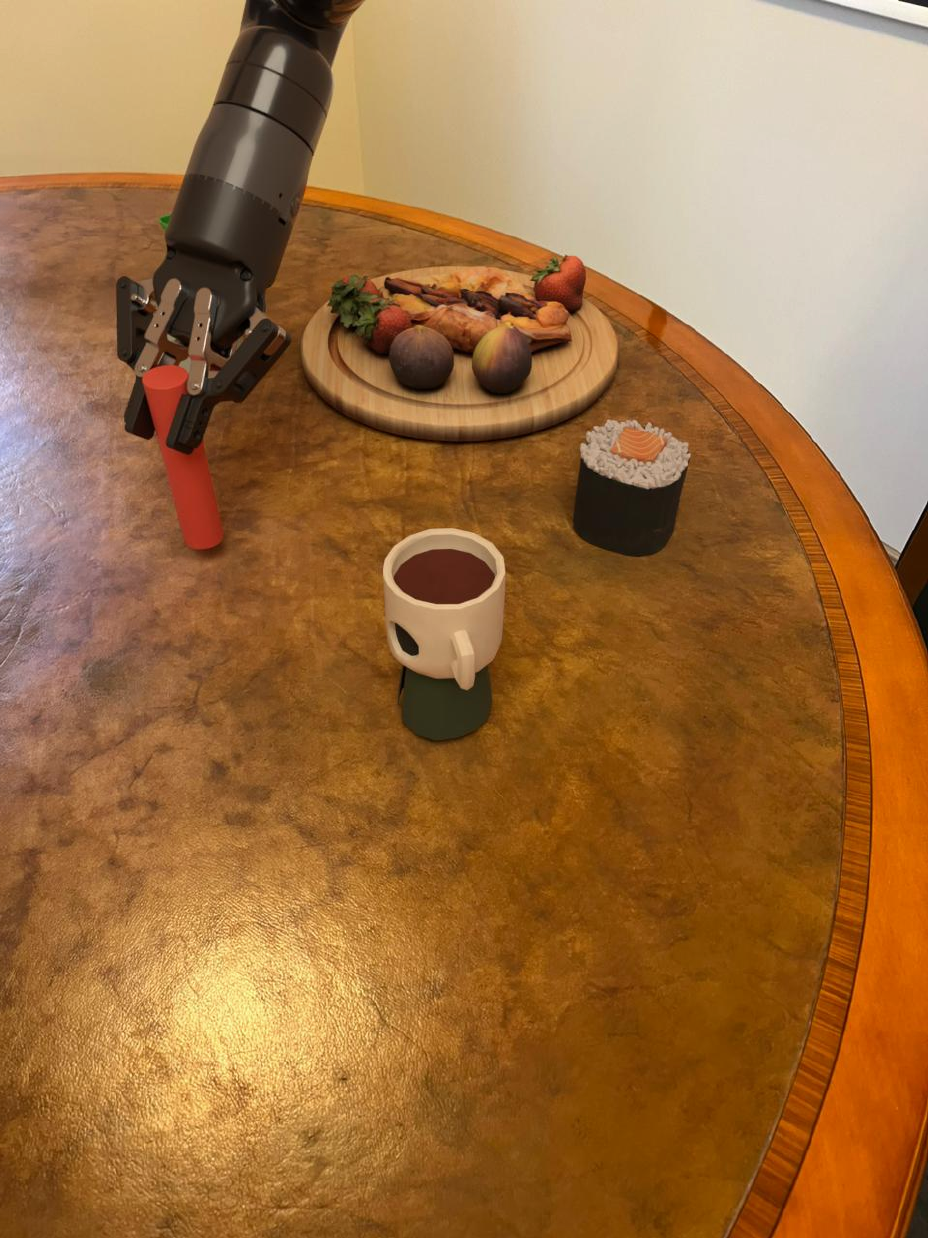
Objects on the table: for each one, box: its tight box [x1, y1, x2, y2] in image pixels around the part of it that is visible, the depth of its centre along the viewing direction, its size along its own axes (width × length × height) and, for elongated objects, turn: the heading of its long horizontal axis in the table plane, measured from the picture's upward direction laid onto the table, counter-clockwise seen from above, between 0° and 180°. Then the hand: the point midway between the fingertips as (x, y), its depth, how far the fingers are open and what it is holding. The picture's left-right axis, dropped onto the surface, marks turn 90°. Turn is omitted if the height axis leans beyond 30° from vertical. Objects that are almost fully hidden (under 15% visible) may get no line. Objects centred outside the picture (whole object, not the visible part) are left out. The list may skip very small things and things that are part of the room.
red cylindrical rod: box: [142, 365, 225, 550], centre depth 67 cm, size 3×3×14 cm
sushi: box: [572, 419, 692, 558], centre depth 74 cm, size 8×8×8 cm
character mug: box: [382, 527, 507, 742], centre depth 58 cm, size 11×7×13 cm, turn 15°
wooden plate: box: [299, 254, 621, 443], centre depth 92 cm, size 32×32×8 cm
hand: (158, 442), depth 63 cm, fingers closed on red cylindrical rod, 3 cm apart
